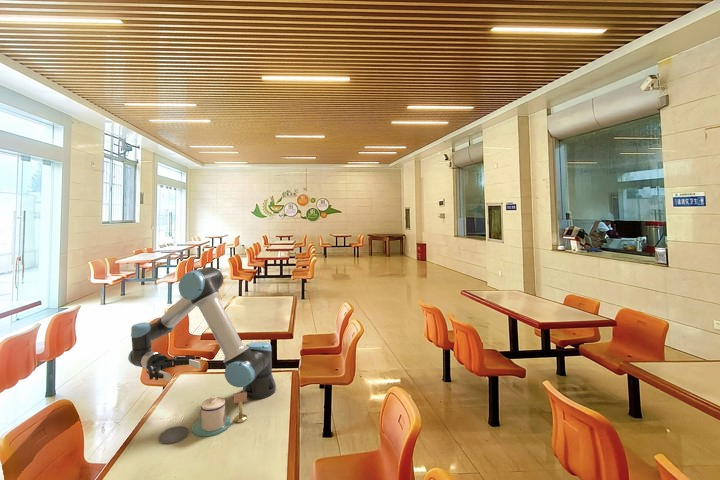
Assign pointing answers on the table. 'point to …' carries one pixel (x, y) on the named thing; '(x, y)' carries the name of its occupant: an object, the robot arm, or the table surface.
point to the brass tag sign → (240, 406)
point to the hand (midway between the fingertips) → (185, 371)
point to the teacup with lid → (213, 413)
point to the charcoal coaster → (174, 435)
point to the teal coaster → (200, 432)
